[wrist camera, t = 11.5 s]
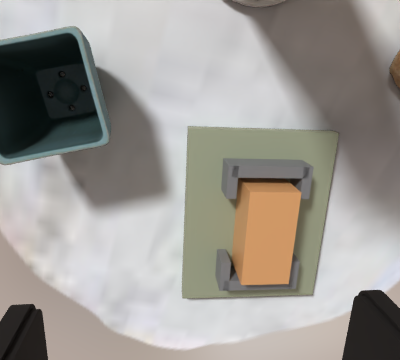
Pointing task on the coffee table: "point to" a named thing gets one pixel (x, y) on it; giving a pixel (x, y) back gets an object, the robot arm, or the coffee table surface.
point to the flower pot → (44, 104)
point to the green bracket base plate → (227, 196)
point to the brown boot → (396, 69)
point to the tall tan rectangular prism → (265, 230)
